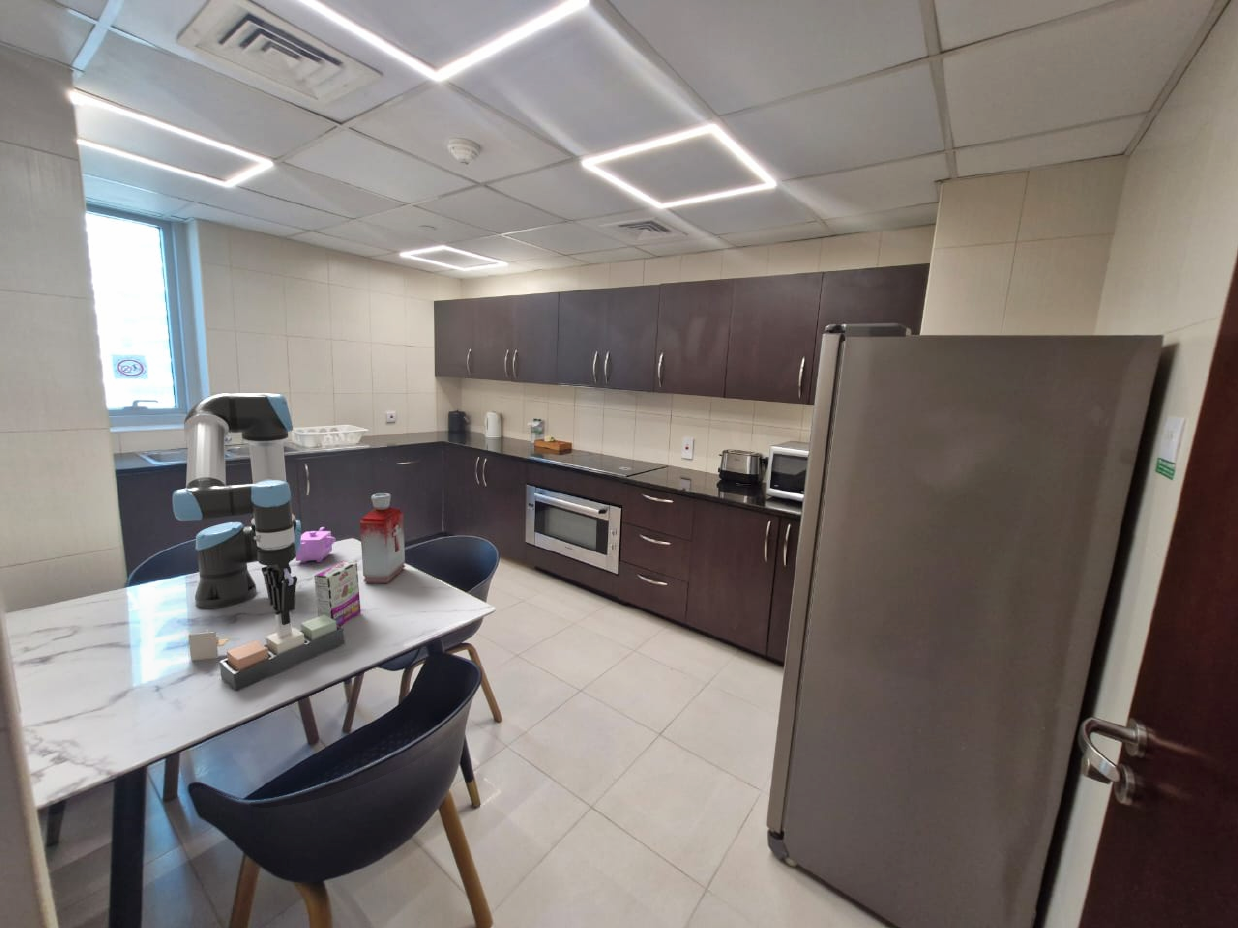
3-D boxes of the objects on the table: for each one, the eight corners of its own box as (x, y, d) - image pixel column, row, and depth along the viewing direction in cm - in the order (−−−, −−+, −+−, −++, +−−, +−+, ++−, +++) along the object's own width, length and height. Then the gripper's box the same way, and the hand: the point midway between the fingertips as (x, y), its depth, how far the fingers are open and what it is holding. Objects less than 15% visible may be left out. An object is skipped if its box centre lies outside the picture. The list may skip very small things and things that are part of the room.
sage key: (302, 640, 129) (300, 623, 128) (325, 631, 134) (324, 614, 133) (313, 648, 125) (312, 630, 124) (337, 638, 130) (336, 621, 129)
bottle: (389, 584, 167) (385, 500, 162) (360, 583, 167) (354, 499, 162) (408, 568, 181) (405, 490, 176) (381, 567, 182) (376, 489, 176)
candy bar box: (346, 610, 149) (343, 560, 146) (361, 613, 148) (358, 562, 145) (317, 629, 138) (313, 574, 135) (332, 631, 137) (328, 577, 134)
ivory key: (267, 654, 122) (265, 636, 121) (293, 644, 127) (292, 626, 126) (278, 663, 119) (277, 644, 118) (305, 651, 124) (303, 633, 123)
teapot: (287, 558, 186) (284, 530, 184) (325, 549, 197) (323, 523, 195) (303, 569, 177) (300, 540, 175) (341, 559, 188) (340, 532, 186)
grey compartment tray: (221, 678, 115) (219, 661, 114) (329, 634, 135) (328, 619, 135) (236, 691, 111) (233, 673, 110) (344, 643, 131) (343, 628, 130)
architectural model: (198, 654, 125) (194, 628, 123) (230, 651, 127) (227, 625, 125) (190, 662, 122) (187, 634, 120) (223, 658, 124) (220, 631, 122)
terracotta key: (229, 670, 115) (226, 651, 114) (258, 658, 120) (256, 640, 119) (240, 679, 112) (237, 659, 111) (269, 667, 117) (267, 648, 116)
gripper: (246, 543, 118) (255, 632, 122) (271, 555, 111) (280, 649, 115) (280, 535, 124) (288, 620, 128) (306, 546, 117) (313, 636, 122)
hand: (284, 634), depth 122 cm, fingers closed
